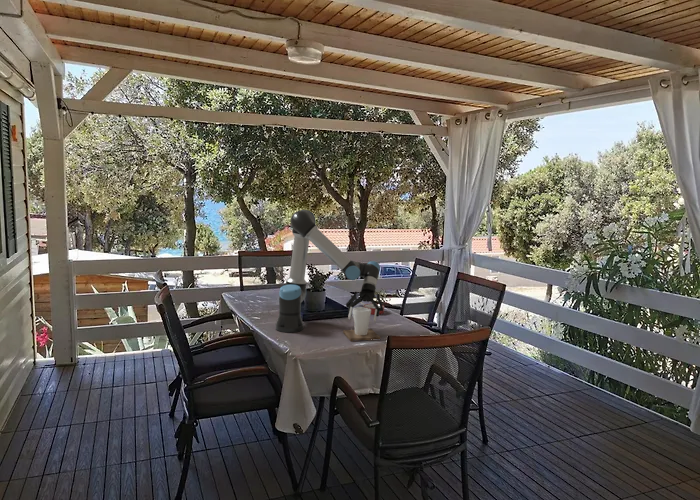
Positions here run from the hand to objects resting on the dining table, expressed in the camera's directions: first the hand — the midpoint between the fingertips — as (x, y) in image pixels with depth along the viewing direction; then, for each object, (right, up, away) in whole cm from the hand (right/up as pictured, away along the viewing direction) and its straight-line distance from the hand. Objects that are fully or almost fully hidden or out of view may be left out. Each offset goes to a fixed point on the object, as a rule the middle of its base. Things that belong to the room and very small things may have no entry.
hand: (361, 319), depth 254 cm
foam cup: (0, -8, +2) cm, 8 cm away
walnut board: (0, -9, +2) cm, 9 cm away
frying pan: (+3, -2, +63) cm, 63 cm away
